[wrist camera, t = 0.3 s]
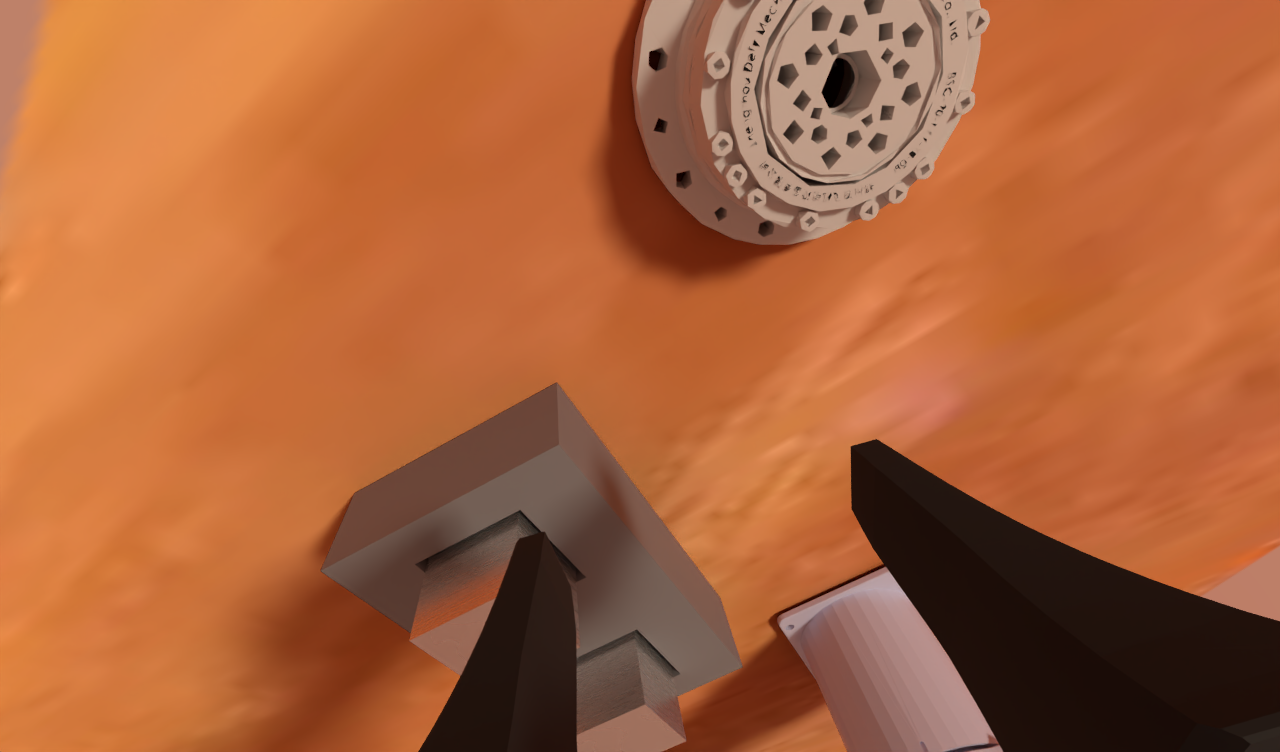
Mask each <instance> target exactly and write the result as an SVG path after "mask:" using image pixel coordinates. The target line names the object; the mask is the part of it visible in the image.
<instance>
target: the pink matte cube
mask: <svg viewBox="0 0 1280 752" xmlns="http://www.w3.org/2000/svg"><path fill="white" fill-rule="evenodd" d="M683 742H686V736H685V731H684V726H683V721H682V716H681V712H680V707H679V702H678V697H677V692H676V688H675V683H674V678H673V673H672V668H671V664H670V663H669V662H668V661H667V660H666V658H665V657H664V656H663V655H662V654H661V653H660V652H659V651H658V650H657V649H656V648H655V647H654V646H653V645H652V644H651V643H650V642H649V641H648V640H647V639H646V638H645V637H644V636H643V635H642V634H641V633H640V632H639V631H638V630H635V631H633V632H631V633H628V634H626V635H624V636H622V637H620V638H618V639H616V640H613V641H611V642H609V643H607V644H605V645H603V646H601V647H599V648H596V649H594V650H592V651H590V652H588V653H586V654H584V655H582V656H579V657H577V752H662V751H665V750H667V749H669V748H672V747H674V746H676V745H679V744H681V743H683Z"/></svg>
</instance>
